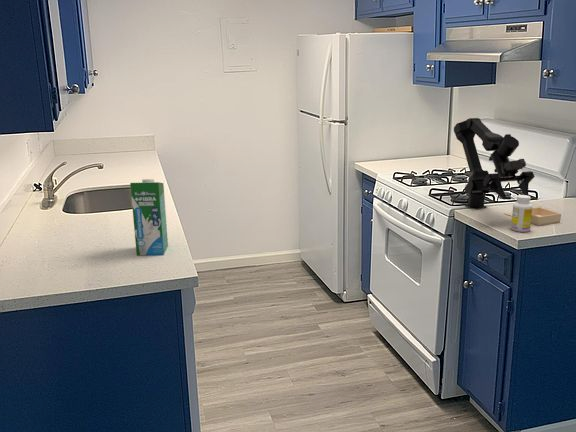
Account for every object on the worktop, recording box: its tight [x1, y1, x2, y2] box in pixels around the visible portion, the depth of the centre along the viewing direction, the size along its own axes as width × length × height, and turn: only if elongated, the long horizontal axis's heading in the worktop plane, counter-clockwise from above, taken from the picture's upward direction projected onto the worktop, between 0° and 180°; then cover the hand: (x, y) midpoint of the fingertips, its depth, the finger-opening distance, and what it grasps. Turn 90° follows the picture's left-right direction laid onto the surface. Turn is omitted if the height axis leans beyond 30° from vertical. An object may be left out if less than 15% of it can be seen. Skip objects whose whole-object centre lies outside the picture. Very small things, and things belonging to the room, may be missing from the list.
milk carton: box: [129, 178, 169, 256], centre depth 196 cm, size 9×9×25 cm
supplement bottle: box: [510, 194, 533, 233], centre depth 215 cm, size 7×7×13 cm
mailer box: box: [503, 206, 562, 227], centre depth 231 cm, size 18×11×4 cm, turn 22°
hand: (516, 198), depth 218 cm, fingers open, 9 cm apart
